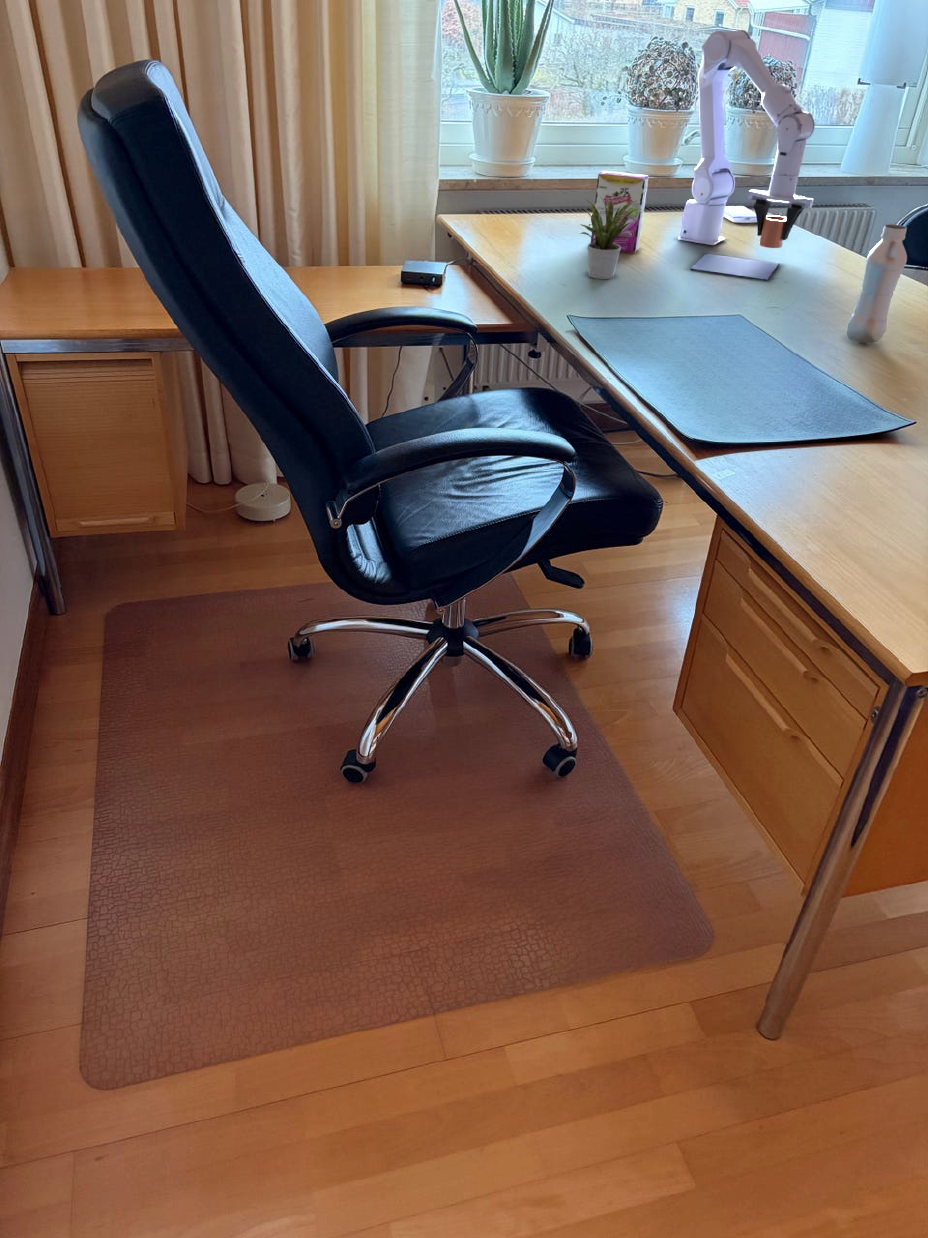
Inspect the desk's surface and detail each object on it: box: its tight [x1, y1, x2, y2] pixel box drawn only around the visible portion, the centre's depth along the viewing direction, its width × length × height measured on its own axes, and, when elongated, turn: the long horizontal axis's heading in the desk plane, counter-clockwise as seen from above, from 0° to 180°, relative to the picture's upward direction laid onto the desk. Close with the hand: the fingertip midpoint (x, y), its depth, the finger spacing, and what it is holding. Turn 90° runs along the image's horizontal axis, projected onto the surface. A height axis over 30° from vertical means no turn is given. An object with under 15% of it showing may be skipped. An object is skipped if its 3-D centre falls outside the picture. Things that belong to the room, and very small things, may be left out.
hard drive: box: [723, 205, 757, 224], centre depth 250 cm, size 2×8×12 cm
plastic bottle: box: [846, 223, 908, 344], centre depth 163 cm, size 6×7×20 cm
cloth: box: [690, 253, 780, 282], centre depth 208 cm, size 17×15×1 cm
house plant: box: [577, 195, 639, 280], centre depth 195 cm, size 14×14×16 cm
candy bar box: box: [590, 170, 650, 254], centre depth 214 cm, size 11×5×16 cm, turn 71°
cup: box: [758, 215, 787, 249], centre depth 213 cm, size 5×5×6 cm
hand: (772, 236), depth 214 cm, fingers closed on cup, 5 cm apart
